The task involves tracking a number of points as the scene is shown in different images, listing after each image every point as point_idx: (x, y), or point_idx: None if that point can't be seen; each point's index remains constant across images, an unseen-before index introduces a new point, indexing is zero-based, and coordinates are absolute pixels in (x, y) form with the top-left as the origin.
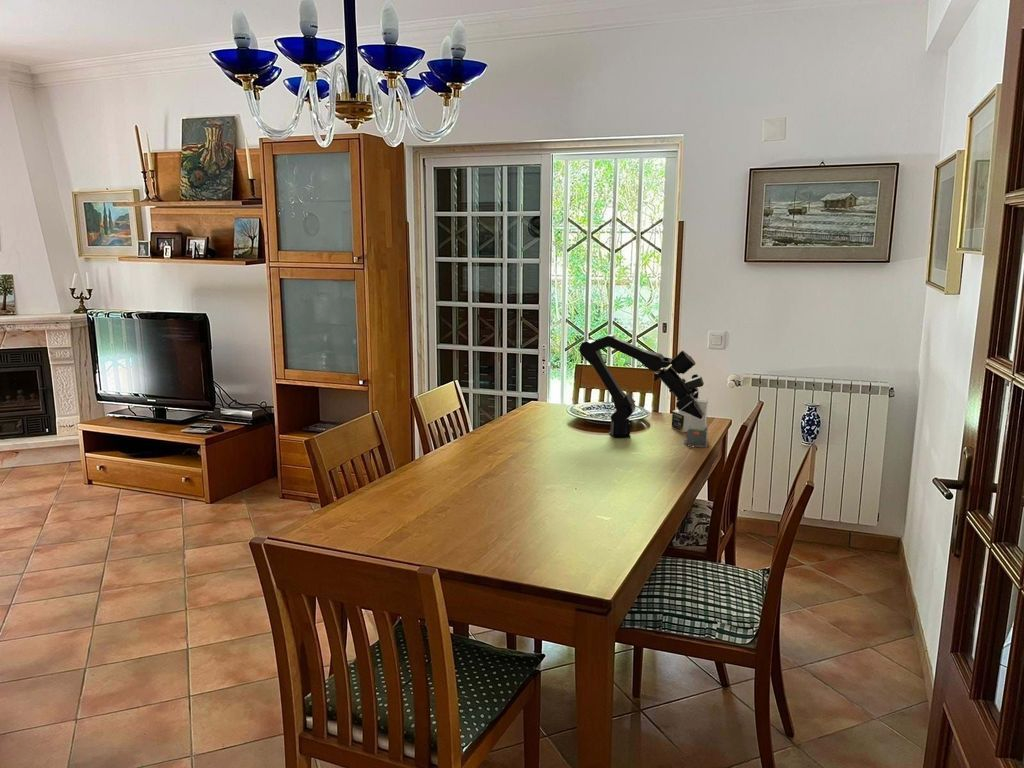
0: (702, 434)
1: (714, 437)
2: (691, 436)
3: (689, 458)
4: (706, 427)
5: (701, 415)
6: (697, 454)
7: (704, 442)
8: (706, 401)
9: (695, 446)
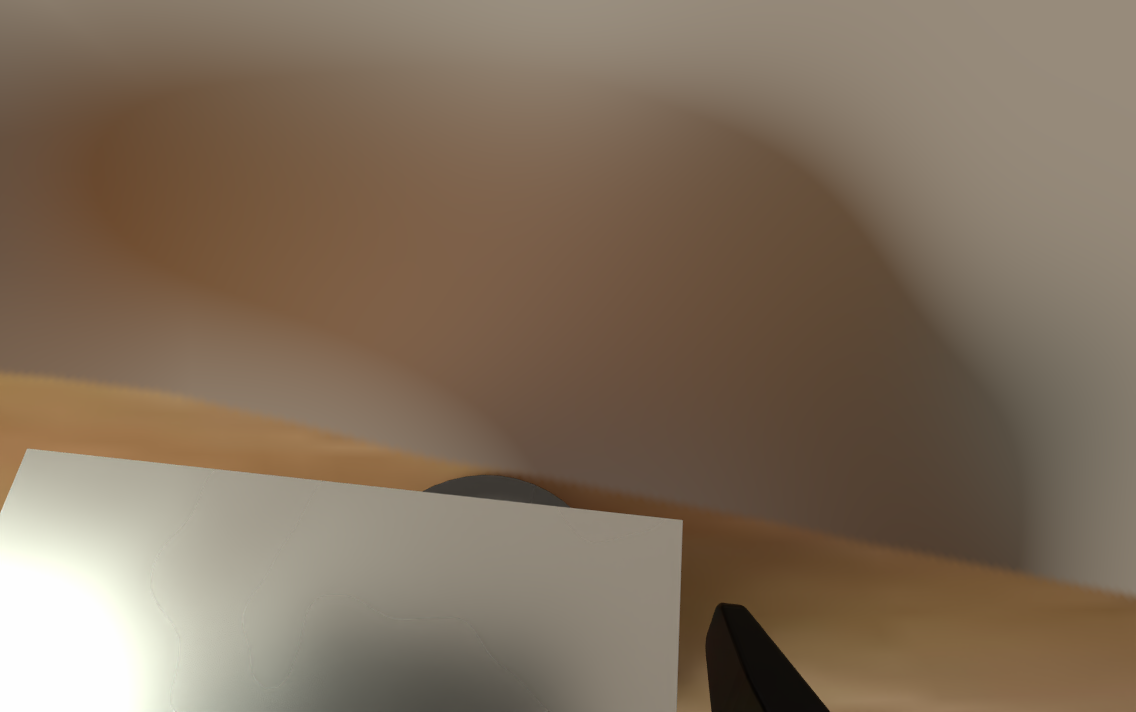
0: None
1: (183, 421)
2: None
3: (1002, 682)
4: None
5: (764, 637)
6: (837, 600)
7: None
8: (555, 522)
9: None
